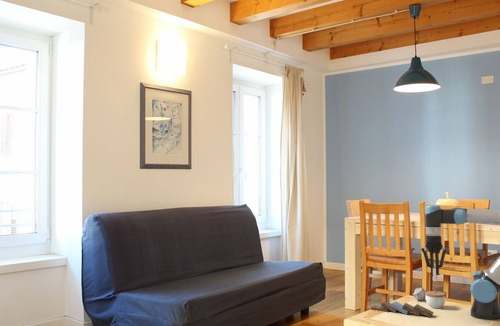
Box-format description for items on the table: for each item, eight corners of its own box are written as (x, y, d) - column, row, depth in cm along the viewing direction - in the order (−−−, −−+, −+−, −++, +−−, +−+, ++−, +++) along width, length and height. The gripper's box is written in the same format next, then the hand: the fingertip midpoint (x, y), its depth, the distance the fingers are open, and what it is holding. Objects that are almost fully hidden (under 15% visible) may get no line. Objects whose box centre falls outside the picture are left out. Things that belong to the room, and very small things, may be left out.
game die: (423, 307, 300) (430, 296, 294) (409, 302, 301) (415, 290, 296) (424, 297, 307) (431, 285, 301) (410, 291, 309) (416, 280, 303)
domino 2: (400, 307, 277) (385, 301, 283) (396, 309, 274) (381, 302, 280) (399, 311, 278) (385, 304, 283) (395, 312, 274) (380, 305, 280)
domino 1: (390, 307, 280) (374, 305, 286) (386, 309, 276) (370, 307, 282) (390, 311, 280) (374, 308, 285) (386, 313, 276) (370, 310, 281)
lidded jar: (448, 309, 281) (448, 292, 281) (429, 309, 281) (428, 292, 281) (441, 304, 291) (441, 288, 292) (422, 304, 292) (422, 288, 292)
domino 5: (433, 312, 268) (417, 304, 272) (431, 314, 264) (414, 306, 268) (432, 315, 268) (415, 307, 273) (430, 317, 264) (413, 309, 269)
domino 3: (406, 314, 270) (391, 306, 275) (409, 312, 274) (394, 304, 279) (407, 311, 270) (392, 302, 275) (411, 309, 274) (395, 301, 279)
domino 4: (422, 310, 271) (406, 302, 275) (420, 312, 267) (403, 304, 271) (421, 314, 271) (404, 306, 276) (418, 316, 267) (402, 308, 271)
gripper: (419, 235, 267) (420, 280, 266) (445, 236, 260) (446, 283, 259) (422, 234, 273) (424, 278, 272) (448, 234, 266) (449, 280, 265)
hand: (435, 280), depth 266 cm, fingers closed
